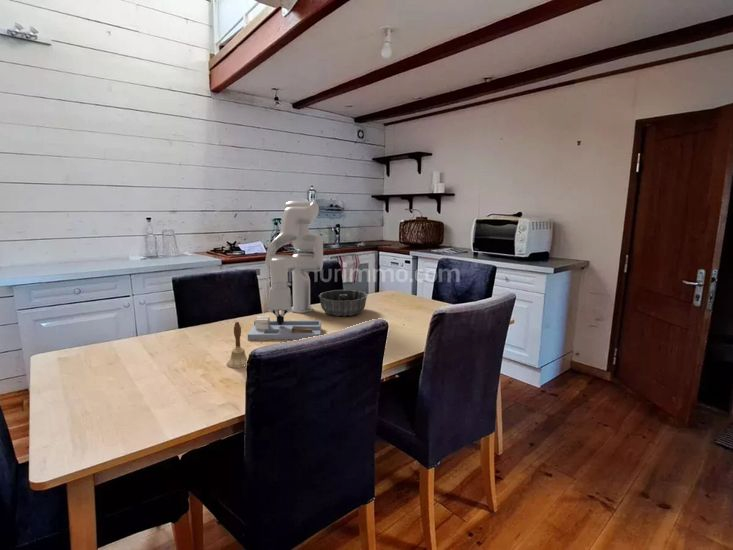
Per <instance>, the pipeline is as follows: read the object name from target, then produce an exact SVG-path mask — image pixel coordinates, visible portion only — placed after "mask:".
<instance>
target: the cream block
mask: <svg viewBox="0 0 733 550" xmlns="http://www.w3.org/2000/svg"><path fill="white" fill-rule="evenodd" d="M254 321H255V325H256V329H268V328H269V326H270V321H271V320H270V315H263V316H262V315H257V316H256V319H255V320H254Z"/></svg>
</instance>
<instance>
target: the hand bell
mask: <svg viewBox="0 0 733 550" xmlns="http://www.w3.org/2000/svg"><path fill="white" fill-rule="evenodd" d="M240 324H241V323H240V322H239V321H236V322H234V327H233V335H234V338H235V348H233V349H232V350H231V353H230V354H231V355H230V358H229V360H228V361H227V362H226V366H227V367H228V368H230V367H233V368H232V369H238V368H237V367H241V368H244V367H243V366H244V365H245V367H247V366H246V361H247V359H248V357H247V356H246V352H245V348H243V347H241V336H242V327H241V325H240Z"/></svg>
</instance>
